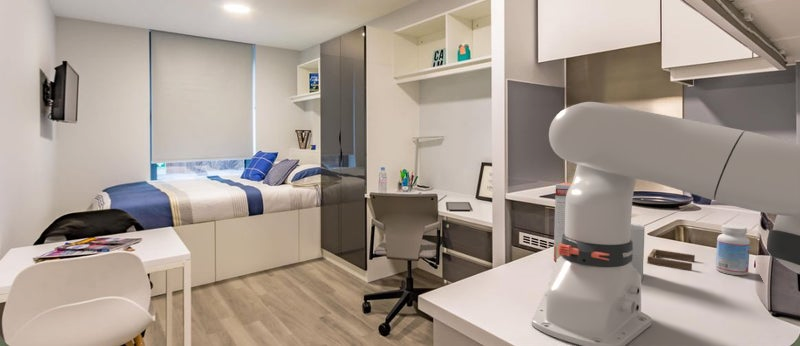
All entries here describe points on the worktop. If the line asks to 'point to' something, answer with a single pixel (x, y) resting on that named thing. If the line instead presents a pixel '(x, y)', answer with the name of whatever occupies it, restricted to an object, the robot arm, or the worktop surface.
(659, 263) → the stop
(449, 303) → the worktop surface
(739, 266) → the pill bottle
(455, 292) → the worktop surface
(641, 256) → the skincare box
